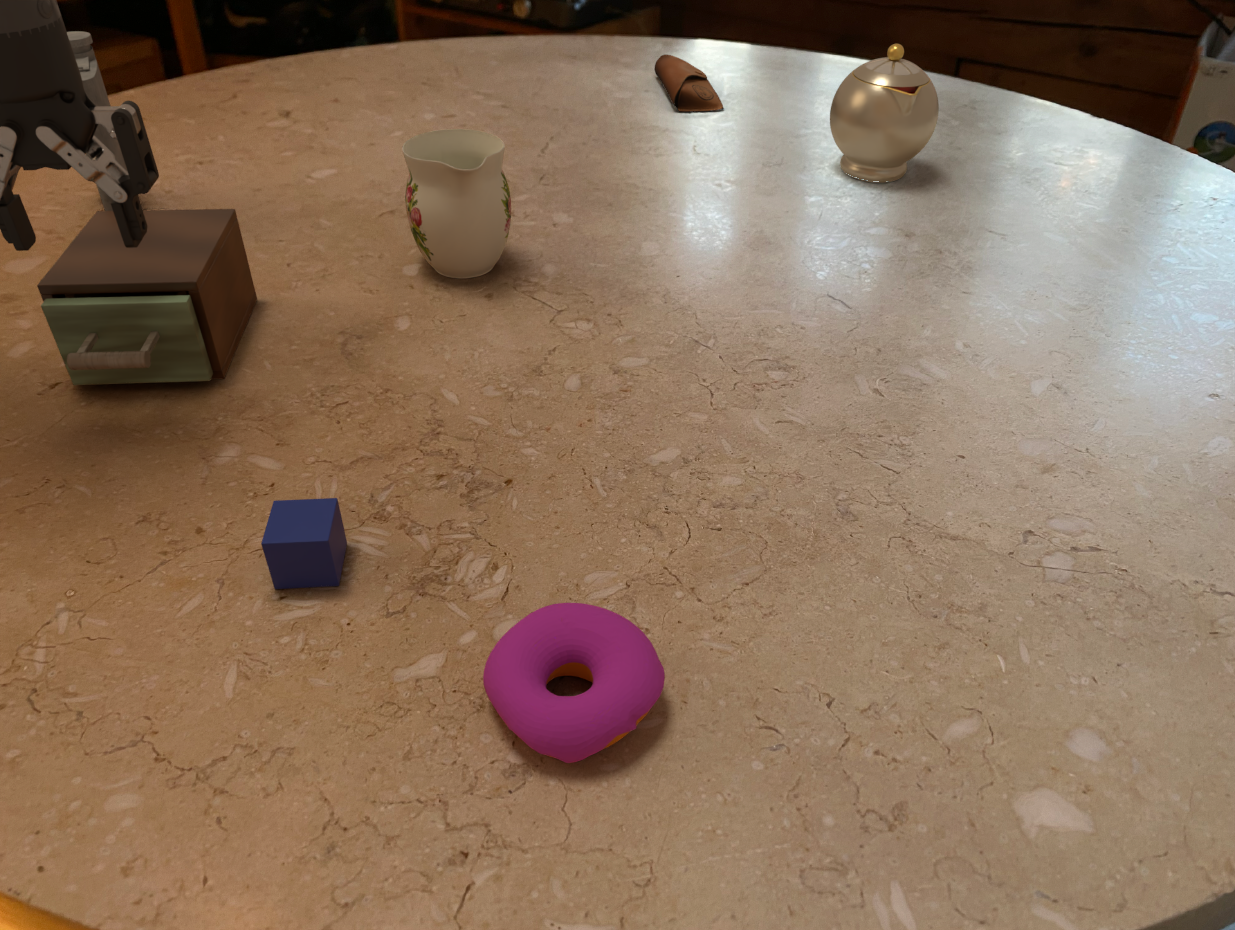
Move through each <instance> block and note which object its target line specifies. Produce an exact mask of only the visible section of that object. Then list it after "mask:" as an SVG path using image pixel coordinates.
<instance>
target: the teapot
mask: <svg viewBox="0 0 1235 930" xmlns="http://www.w3.org/2000/svg"><path fill="white" fill-rule="evenodd" d="M886 55H887V56H886V57H885V56H884V57H879V58H875V59H871V60H869V61H866V62H864V63H862V64H860V65H859V66H857V67H856V68H854V69H853V70H852V71H851V72H850V73H849V74H848V75H847V76H846V77H845V78H844V79H843V80H842V81H841V83H840V84H839V86H838V88H837V89H836V90H835V93H834V96H833V98H832V102H831V105H830V111H829V127H830V132H831V136H832V138H833V141H834V143H835V145H836V147H837V148H838V150H839V151H840V152H841V154H842V156H841V157H840V160H839V166H840V169H841V170H842V172H843V173H844V174H846V173H847V174H846V175H847V176H848V177H850V178H853V179H855V180H858V181H861V182H867V183H874V184H875V183H876V184H877V183H878V184H884V183H887V182H886V181H889V182H888V183H891V182H895V181H898V180H901V178H903V177H904V176H905V175H906V173H907V171H908V163H907V162H909V161H910V160H912V159H913V158H914V157H916V156H917V155H918V154H920V152H921V151H922V150H924V148H925V147H926V145H927V144H928V143H929V141H930V139H931V138H932V137H933V135H934V132H935V129H936V128H937V127H936V126H937V123H938V118H939V111H940V110H939V109H940V107H939V106H940V105H939V98H938V97H939V96H938V94H937V90H936V87H935V85H934V83H933V81H932V80H931V77H929V75H928V74H927V73H926V72H925V70H923V69H922V68H921V67H919V66H918V65H917V64H915V63H914V62H912V61H910V60H907V59H904V58H903V57H904V55H905V49H904V46H903V45H902V44H900V43H894V44H891V45H890V46H889V47H888V48H887V52H886ZM848 174H849V175H851V176H849V175H848ZM852 176H853V177H852ZM854 177H857V178H859V179H857V178H854ZM861 179H864V180H861ZM865 180H868V181H865ZM873 181H879V182H873Z"/></svg>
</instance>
